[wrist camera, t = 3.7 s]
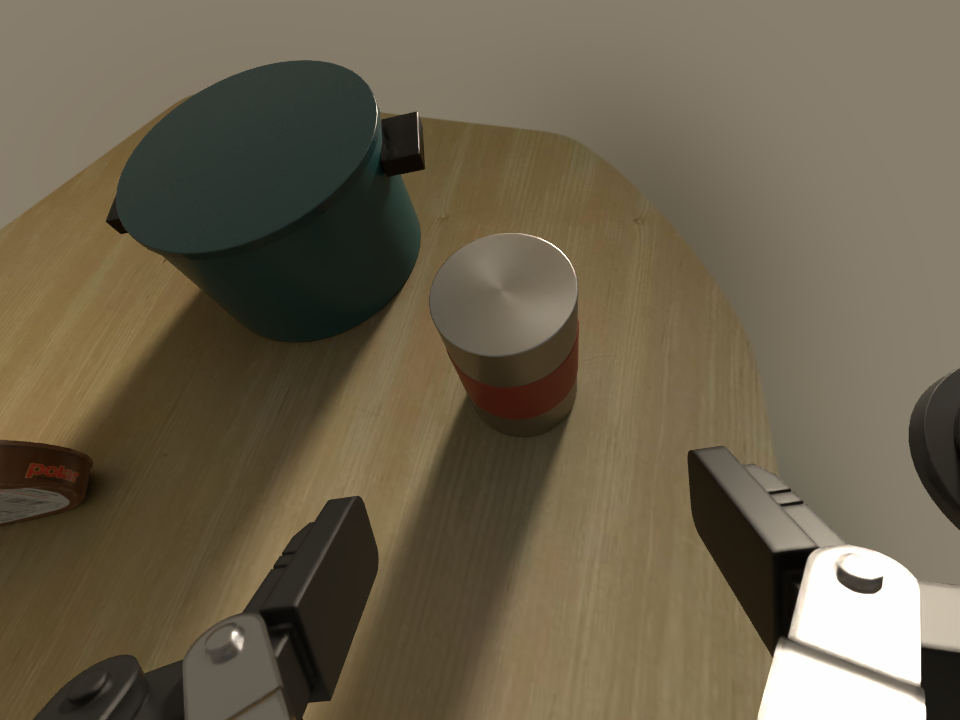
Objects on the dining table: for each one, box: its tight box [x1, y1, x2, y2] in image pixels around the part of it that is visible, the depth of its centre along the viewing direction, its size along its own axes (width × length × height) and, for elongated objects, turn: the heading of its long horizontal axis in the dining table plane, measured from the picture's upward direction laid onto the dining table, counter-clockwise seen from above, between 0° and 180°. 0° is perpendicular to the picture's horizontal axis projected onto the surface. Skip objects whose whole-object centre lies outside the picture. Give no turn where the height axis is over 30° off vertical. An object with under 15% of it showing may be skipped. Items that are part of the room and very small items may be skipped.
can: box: [429, 233, 579, 437], centre depth 24 cm, size 6×6×10 cm
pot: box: [106, 60, 425, 342], centre depth 33 cm, size 21×17×10 cm
